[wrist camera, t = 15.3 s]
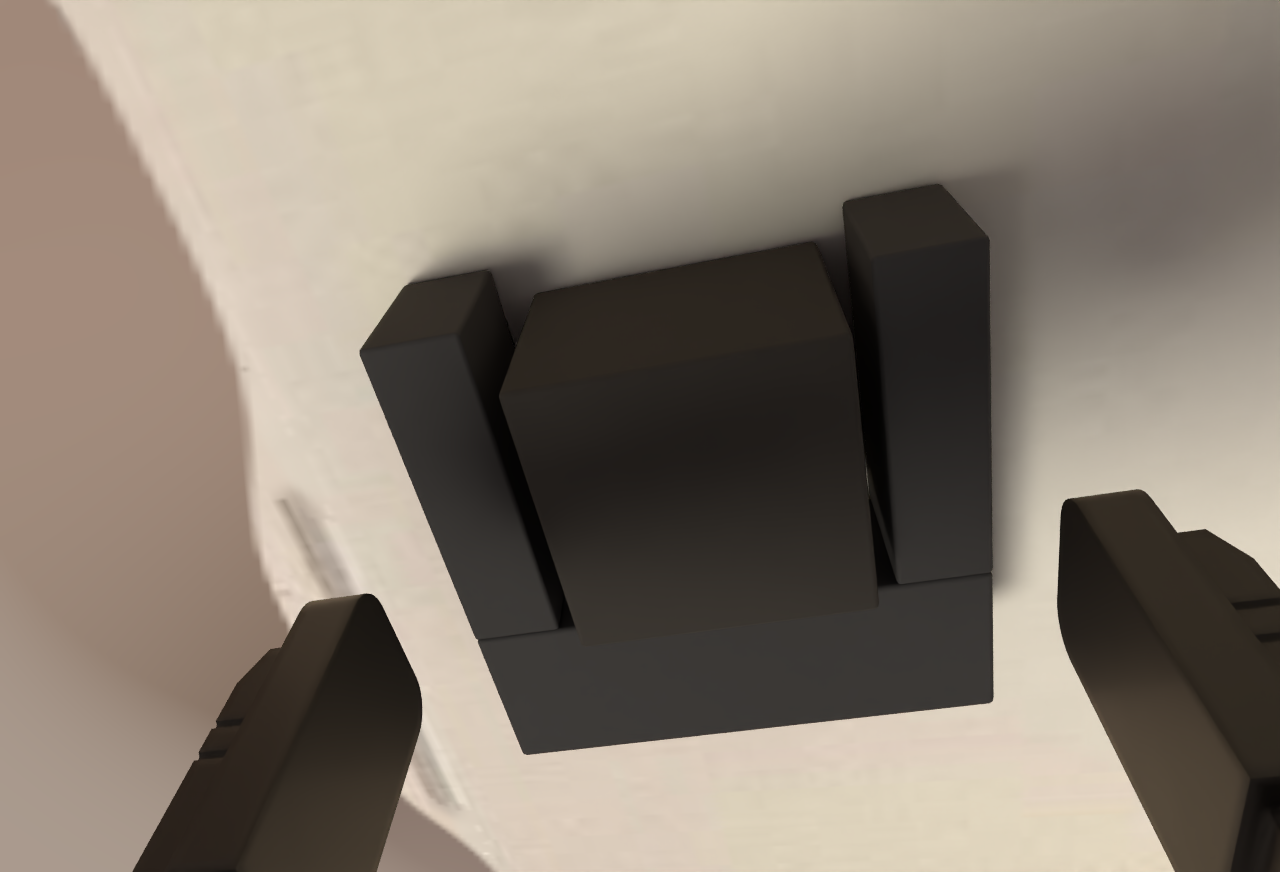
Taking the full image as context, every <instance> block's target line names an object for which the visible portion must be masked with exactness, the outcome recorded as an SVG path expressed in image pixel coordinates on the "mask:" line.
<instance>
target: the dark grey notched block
mask: <svg viewBox="0 0 1280 872" xmlns="http://www.w3.org/2000/svg"><path fill="white" fill-rule="evenodd" d="M842 209H843V220H844V230H845V241H846V252H847V262H848V273H849V283H850V294H851V304H852V315H853V325H854V336H855V347H856V357H857V368H858V378H859V389H860V399H861V410H862V421H863V431H864V442H865V452H866V463H867V473H868V484H869V495H870V498H871V499H869V506H870V516H871V526H872V536H873V546H874V556H875V566H876V576H877V586H878V596H879V605H878V608H876V609H872V610H865V611H857V612H849V613H842V614H834V615H826V616H819V617H811V618H803V619H796V620H788V621H780V622H773V623H765V624H757V625H750V626H742V627H734V628H726V629H719V630H711V631H703V632H696V633H688V634H680V635H673V636H665V637H657V638H650V639H642V640H634V641H627V642H619V643H611V644H604V645H596V646H588V647H585V646H583V645H582V644H581V642H580V639H579V636H578V633H577V630H576V627H575V624H574V621H573V618H572V615H571V612H570V609H569V606H568V603H567V600H566V597H565V594H564V591H563V588H562V585H561V582H560V579H559V576H558V573H557V570H556V567H555V564H554V561H553V558H552V555H551V552H550V549H549V546H548V543H547V540H546V537H545V534H544V531H543V528H542V525H541V522H540V519H539V516H538V513H537V510H536V507H535V504H534V501H533V498H532V495H531V492H530V489H529V486H528V483H527V480H526V477H525V474H524V471H523V468H522V465H521V462H520V459H519V456H518V453H517V450H516V447H515V444H514V441H513V438H512V435H511V432H510V429H509V426H508V423H507V420H506V417H505V414H504V411H503V408H502V405H501V402H500V399H499V395H500V391H501V388H502V385H503V383H504V380H505V377H506V374H507V371H508V369H509V366H510V363H511V360H512V357H513V354H514V352H515V349H514V346H513V343H512V339H511V336H510V333H509V330H508V326H507V323H506V320H505V317H504V314H503V310H502V307H501V304H500V301H499V297H498V294H497V291H496V288H495V285H494V281H493V278H492V275H491V273H490V271H488V270H484V271H479V272H474V273H468V274H463V275H458V276H453V277H447V278H442V279H437V280H432V281H426V282H421V283H416V284H411V285H406V286H405V287H403V289H402V290H401V292H400V293H399V294H398V296H397V297H396V299H395V300H394V302H393V303H392V305H391V306H390V307H389V309H388V310H387V312H386V313H385V315H384V316H383V318H382V319H381V320H380V322H379V323H378V325H377V326H376V328H375V329H374V331H373V332H372V333H371V335H370V336H369V338H368V339H367V341H366V342H365V344H364V345H363V346H362V348H361V349H360V357H361V359H362V362H363V364H364V366H365V369H366V371H367V374H368V376H369V379H370V381H371V384H372V386H373V388H374V391H375V393H376V396H377V398H378V401H379V403H380V406H381V408H382V410H383V413H384V415H385V418H386V420H387V423H388V425H389V428H390V430H391V432H392V435H393V437H394V440H395V442H396V445H397V447H398V450H399V452H400V454H401V457H402V459H403V462H404V464H405V467H406V469H407V472H408V474H409V477H410V479H411V481H412V484H413V486H414V489H415V491H416V494H417V496H418V499H419V501H420V503H421V506H422V508H423V511H424V513H425V516H426V518H427V521H428V523H429V525H430V528H431V530H432V533H433V535H434V538H435V540H436V543H437V545H438V547H439V550H440V552H441V555H442V557H443V560H444V562H445V565H446V567H447V569H448V572H449V574H450V577H451V579H452V582H453V584H454V587H455V589H456V591H457V594H458V596H459V599H460V601H461V604H462V606H463V609H464V611H465V614H466V616H467V618H468V621H469V623H470V626H471V628H472V631H473V633H474V636H475V638H476V639H478V644H479V646H480V649H481V651H482V654H483V656H484V659H485V661H486V663H487V666H488V668H489V671H490V673H491V676H492V678H493V681H494V683H495V685H496V688H497V690H498V693H499V695H500V698H501V700H502V703H503V705H504V708H505V710H506V712H507V715H508V717H509V720H510V722H511V725H512V727H513V730H514V732H515V734H516V737H517V739H518V742H519V744H520V747H521V749H522V752H523V753H524V754H526V755H530V754H539V753H548V752H557V751H566V750H575V749H584V748H593V747H602V746H611V745H620V744H629V743H638V742H646V741H655V740H664V739H673V738H682V737H691V736H700V735H709V734H718V733H727V732H736V731H745V730H754V729H763V728H772V727H781V726H789V725H798V724H807V723H816V722H825V721H834V720H843V719H852V718H861V717H870V716H879V715H888V714H897V713H906V712H915V711H924V710H932V709H941V708H950V707H959V706H968V705H977V704H986V703H990V702H992V701H993V697H994V696H993V596H992V573H991V571H992V568H993V552H992V448H991V345H990V241H989V238H988V236H987V235H986V234H985V233H984V232H983V231H982V230H981V229H980V227H979V226H978V225H977V224H976V223H975V222H974V221H973V220H972V218H971V217H970V216H969V215H968V214H967V213H966V212H965V211H964V209H963V208H962V207H961V206H960V205H959V204H958V203H957V202H956V200H955V199H954V198H953V197H952V196H951V195H950V194H949V193H948V191H947V190H946V189H945V188H944V187H943V186H942V185H940V184H935V185H930V186H925V187H920V188H914V189H909V190H904V191H899V192H893V193H888V194H883V195H878V196H872V197H867V198H862V199H857V200H852V201H847V202H845V203H843V206H842Z"/></svg>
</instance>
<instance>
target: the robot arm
mask: <svg viewBox="0 0 1280 872" xmlns="http://www.w3.org/2000/svg"><path fill="white" fill-rule="evenodd" d="M1057 609H1058V618H1059V624H1060V629H1061V634H1062V638H1063V641H1064V645H1065V648H1066V651H1067V653H1068V656H1069V658H1070V660H1071V663H1072V665H1073V667H1074V669H1075V671H1076V673H1077V675H1078V677H1079V679H1080V681H1081V683H1082V685H1083V687H1084V689H1085V691H1086V693H1087V695H1088V697H1089V699H1090V701H1091V703H1092V705H1093V707H1094V709H1095V711H1096V713H1097V715H1098V717H1099V719H1100V721H1101V723H1102V725H1103V727H1104V729H1105V731H1106V733H1107V735H1108V737H1109V739H1110V741H1111V743H1112V745H1113V747H1114V749H1115V751H1116V753H1117V755H1118V758H1119V760H1120V762H1121V764H1122V766H1123V768H1124V770H1125V772H1126V774H1127V776H1128V778H1129V780H1130V782H1131V784H1132V786H1133V788H1134V790H1135V792H1136V794H1137V796H1138V798H1139V800H1140V802H1141V804H1142V806H1143V808H1144V810H1145V812H1146V814H1147V816H1148V818H1149V820H1150V822H1151V824H1152V826H1153V828H1154V830H1155V832H1156V834H1157V836H1158V838H1159V840H1160V842H1161V844H1162V846H1163V848H1164V850H1165V852H1166V854H1167V856H1168V858H1169V860H1170V862H1171V864H1172V866H1173V869H1174V871H1175V872H1280V589H1279V588H1278V587H1277V586H1276V584H1275V583H1274V582H1273V581H1272V580H1271V578H1270V577H1269V576H1268V575H1267V574H1266V572H1265V571H1264V570H1263V569H1262V568H1261V567H1260V565H1259V564H1258V563H1257V562H1256V561H1255V559H1254V558H1252V557H1250V556H1249V555H1247V554H1245V553H1244V552H1242V551H1240V550H1239V549H1237V548H1236V547H1234V546H1232V545H1231V544H1229V543H1227V542H1226V541H1224V540H1222V539H1221V538H1219V537H1217V536H1216V535H1214V534H1212V533H1211V532H1209V531H1208V530H1206V529H1203V530H1195V531H1188V532H1180V533H1177V532H1176V530H1175V529H1174V528H1173V526H1172V525H1171V524H1170V522H1169V521H1168V520H1167V518H1166V517H1165V516H1164V514H1163V513H1162V512H1161V511H1160V509H1159V508H1158V507H1157V505H1156V504H1155V503H1154V501H1153V500H1152V499H1151V497H1150V496H1149V495H1148V494H1147V493H1146V492H1144V491H1142V490H1139V489H1136V490H1129V491H1122V492H1114V493H1107V494H1100V495H1093V496H1085V497H1078V498H1071V499H1067V500H1065V502H1064V503H1063V506H1062V510H1061V521H1060V546H1059V570H1058V595H1057ZM421 722H422V698H421V691H420V687H419V683H418V681H417V678H416V676H415V674H414V672H413V669H412V667H411V665H410V663H409V661H408V659H407V657H406V655H405V653H404V651H403V648H402V646H401V644H400V642H399V640H398V638H397V636H396V634H395V632H394V630H393V627H392V625H391V623H390V621H389V619H388V617H387V615H386V613H385V611H384V609H383V607H382V605H381V603H380V602H379V600H378V599H377V598H376V597H375V596H374V595H372V594H360V595H353V596H346V597H339V598H331V599H324V600H317V601H311V602H309V603H307V604H306V605H305V606H304V607H303V608H302V609H301V611H300V613H299V615H298V616H297V618H296V620H295V622H294V624H293V626H292V628H291V630H290V632H289V634H288V636H287V637H286V639H285V641H284V643H283V645H282V647H281V648H275V649H270V650H269V651H268V652H267V653H266V654H265V655H264V656H263V657H262V658H261V660H259V661H258V662H257V664H256V665H255V666H254V667H253V668H252V669H251V670H250V671H249V672H248V673H247V674H246V675H245V676H244V677H243V678H242V679H241V680H240V681H239V682H238V683H237V684H236V686H235V688H234V690H233V691H232V693H231V695H230V697H229V699H228V700H227V702H226V704H225V706H224V708H223V709H222V711H221V713H220V715H219V717H218V718H217V720H216V723H217V727H216V728H215V729H211V731H210V733H209V735H208V737H207V738H206V740H205V742H204V744H203V745H202V747H201V749H200V751H199V760H197V761H194V762H193V763H192V766H191V767H190V769H189V771H188V772H187V774H186V776H185V778H184V780H183V781H182V783H181V785H180V787H179V789H178V790H177V793H176V794H175V796H174V798H173V799H172V801H171V803H170V805H169V807H168V809H167V810H166V812H165V814H164V816H163V818H162V819H161V822H160V823H159V825H158V826H157V829H156V830H155V832H154V834H153V836H152V837H151V839H150V841H149V843H148V845H147V846H146V848H145V850H144V852H143V854H142V855H141V857H140V859H139V861H138V863H137V864H136V866H135V868H134V870H133V872H377V868H378V865H379V862H380V859H381V855H382V852H383V849H384V846H385V842H386V839H387V836H388V833H389V830H390V826H391V823H392V820H393V817H394V813H395V810H396V807H397V804H398V801H399V797H400V794H401V791H402V788H403V784H404V781H405V778H406V775H407V771H408V768H409V765H410V762H411V758H412V755H413V752H414V749H415V746H416V742H417V739H418V736H419V732H420V728H421Z"/></svg>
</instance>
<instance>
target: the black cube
mask: <svg viewBox="0 0 1280 872" xmlns="http://www.w3.org/2000/svg"><path fill="white" fill-rule="evenodd" d="M499 399H500V402H501V405H502V408H503V411H504V414H505V417H506V420H507V423H508V426H509V429H510V432H511V435H512V438H513V441H514V444H515V447H516V450H517V453H518V456H519V459H520V462H521V465H522V468H523V471H524V474H525V477H526V480H527V483H528V486H529V489H530V492H531V495H532V498H533V501H534V504H535V507H536V510H537V513H538V516H539V519H540V522H541V525H542V528H543V531H544V534H545V537H546V540H547V543H548V546H549V549H550V552H551V555H552V558H553V561H554V564H555V567H556V570H557V573H558V576H559V579H560V582H561V585H562V588H563V591H564V594H565V597H566V600H567V603H568V606H569V609H570V612H571V615H572V618H573V621H574V624H575V627H576V630H577V633H578V636H579V639H580V642H581V644H582V645H583V646H585V647H588V646H596V645H604V644H611V643H619V642H627V641H634V640H642V639H650V638H657V637H665V636H673V635H680V634H688V633H696V632H703V631H711V630H719V629H726V628H734V627H742V626H750V625H757V624H765V623H773V622H780V621H788V620H796V619H803V618H811V617H819V616H826V615H834V614H842V613H849V612H857V611H865V610H872V609H876V608H878V605H879V596H878V586H877V576H876V566H875V556H874V546H873V536H872V526H871V516H870V506H869V495H868V485H867V475H866V465H865V455H864V445H863V435H862V425H861V415H860V405H859V395H858V384H857V374H856V364H855V354H854V344H853V336H852V334H851V331H850V328H849V326H848V323H847V321H846V318H845V316H844V313H843V310H842V308H841V305H840V303H839V300H838V298H837V295H836V292H835V290H834V287H833V285H832V282H831V280H830V277H829V274H828V272H827V269H826V267H825V264H824V262H823V259H822V257H821V254H820V251H819V249H818V246H817V245H816V243H814V242H808V243H803V244H798V245H792V246H787V247H782V248H776V249H771V250H766V251H760V252H755V253H750V254H744V255H739V256H734V257H729V258H723V259H718V260H713V261H707V262H702V263H697V264H691V265H686V266H681V267H675V268H670V269H665V270H659V271H654V272H649V273H643V274H638V275H633V276H628V277H622V278H617V279H612V280H606V281H601V282H596V283H590V284H585V285H580V286H574V287H569V288H564V289H558V290H553V291H548V292H542V293H538V294H536V295H535V296H534V298H533V301H532V304H531V307H530V310H529V312H528V315H527V318H526V321H525V324H524V326H523V329H522V332H521V335H520V338H519V340H518V343H517V346H516V349H515V352H514V354H513V357H512V360H511V363H510V366H509V369H508V371H507V374H506V377H505V380H504V383H503V385H502V388H501V391H500V395H499Z"/></svg>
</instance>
